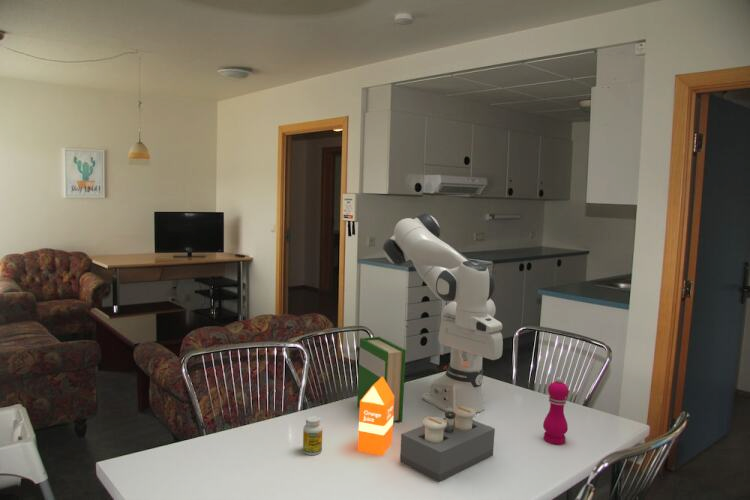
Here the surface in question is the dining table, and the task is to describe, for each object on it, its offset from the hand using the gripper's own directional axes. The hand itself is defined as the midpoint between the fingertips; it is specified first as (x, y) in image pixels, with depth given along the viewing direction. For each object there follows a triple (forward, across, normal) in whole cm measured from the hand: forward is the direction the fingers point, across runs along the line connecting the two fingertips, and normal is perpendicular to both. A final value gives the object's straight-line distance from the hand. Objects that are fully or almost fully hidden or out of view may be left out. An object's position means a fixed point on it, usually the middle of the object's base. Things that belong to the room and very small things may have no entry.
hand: (467, 366), depth 161 cm
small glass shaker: (+17, 0, -7) cm, 19 cm away
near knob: (+23, 0, -13) cm, 26 cm away
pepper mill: (+25, +14, +29) cm, 41 cm away
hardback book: (+26, -35, +1) cm, 43 cm away
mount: (+25, 0, -7) cm, 26 cm away
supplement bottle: (+26, -27, -34) cm, 50 cm away
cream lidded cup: (+23, 0, 0) cm, 23 cm away
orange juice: (+26, -18, -18) cm, 36 cm away
